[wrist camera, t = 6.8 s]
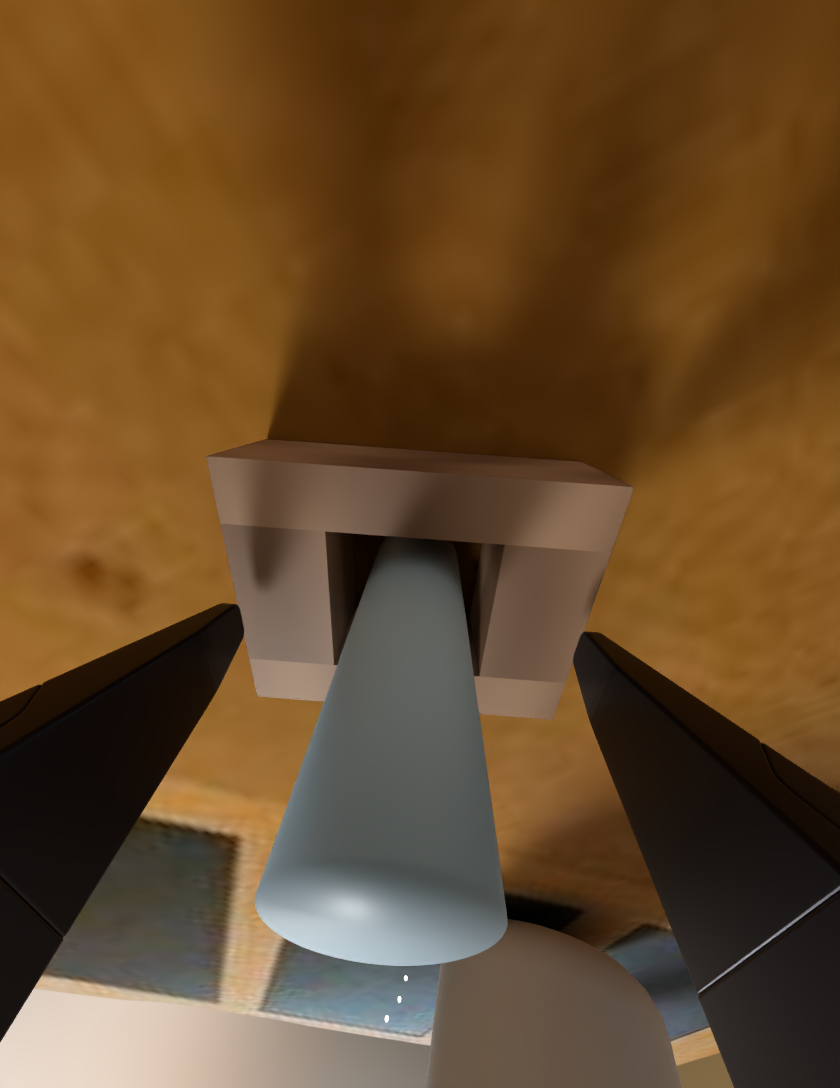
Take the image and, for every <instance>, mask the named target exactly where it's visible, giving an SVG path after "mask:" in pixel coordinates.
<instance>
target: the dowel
mask: <svg viewBox="0 0 840 1088" xmlns="http://www.w3.org/2000/svg"><path fill="white" fill-rule="evenodd" d="M255 907H256V910H257V912H258V914H259V916H260V918H261V919H262V920H263V922H264V923H265V924H266V925H267V926H268V927H270V928H271V929H272V930H273V931H275V932H276V933H277V934H279V935H280V936H282V937H284V938H285V939H287V940H289V941H291V942H293V943H295V944H297V945H299V946H302V947H304V948H307V949H309V950H312V951H315V952H318V953H321V954H324V955H328V956H332V957H336V958H340V959H345V960H349V961H355V962H361V963H369V964H378V965H393V966H416V965H431V964H439V963H446V962H451V961H456V960H460V959H464V958H467V957H470V956H473V955H476V954H478V953H481V952H483V951H485V950H487V949H488V948H490V947H491V946H493V945H494V944H496V943H497V942H498V941H499V940H500V939H501V938H502V936H503V935H504V933H505V932H506V928H507V925H508V922H507V912H506V904H505V897H504V890H503V883H502V875H501V868H500V861H499V854H498V846H497V839H496V832H495V825H494V817H493V810H492V803H491V796H490V789H489V781H488V774H487V767H486V760H485V752H484V745H483V738H482V731H481V723H480V716H479V709H478V702H477V695H476V687H475V680H474V673H473V666H472V658H471V651H470V644H469V637H468V629H467V622H466V615H465V608H464V601H463V593H462V586H461V579H460V572H459V564H458V557H457V553H456V550H455V547H454V546H453V544H452V542H451V541H447V540H434V539H420V538H407V537H394V536H387V537H386V538H385V539H384V540H383V541H382V543H381V545H380V547H379V549H378V552H377V555H376V558H375V561H374V563H373V566H372V569H371V572H370V575H369V577H368V580H367V583H366V586H365V589H364V591H363V594H362V597H361V600H360V603H359V606H358V608H357V611H356V614H355V617H354V620H353V622H352V625H351V628H350V631H349V634H348V636H347V639H346V642H345V645H344V648H343V650H342V653H341V656H340V659H339V662H338V665H337V667H336V670H335V673H334V676H333V679H332V681H331V684H330V687H329V690H328V693H327V695H326V698H325V701H324V704H323V707H322V710H321V712H320V715H319V718H318V721H317V724H316V726H315V729H314V732H313V735H312V738H311V740H310V743H309V746H308V749H307V752H306V754H305V757H304V760H303V763H302V766H301V769H300V771H299V774H298V777H297V780H296V783H295V785H294V788H293V791H292V794H291V797H290V799H289V802H288V805H287V808H286V811H285V814H284V816H283V819H282V822H281V825H280V828H279V830H278V833H277V836H276V839H275V842H274V844H273V847H272V850H271V853H270V856H269V859H268V861H267V864H266V867H265V870H264V873H263V875H262V878H261V881H260V884H259V887H258V889H257V892H256V895H255Z"/></svg>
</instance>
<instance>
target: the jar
mask: <svg viewBox="0 0 840 1088" xmlns="http://www.w3.org/2000/svg"><path fill="white" fill-rule="evenodd" d="M507 922H508V925H507V928H506V932H505V933H504V935H503V936H502V938H501V939H500V940H499V941H498V942H497V943H496V944H494V945H493V946H491V947H490V948H488V949H487V950H485V951H483V952H481V953H478V954H476V955H473V956H470V957H467V958H464V959H460V960H456V961H451V962H446V963H441V967H440V975H439V983H438V991H437V999H436V1007H435V1015H434V1023H433V1031H432V1040H431V1048H430V1056H429V1064H428V1072H427V1080H426V1088H681V1084H680V1080H679V1076H678V1072H677V1067H676V1063H675V1059H674V1055H673V1050H672V1046H671V1042H670V1039H669V1036H668V1032H667V1029H666V1026H665V1023H664V1019H663V1017H662V1015H661V1013H660V1012H659V1010H658V1009H657V1007H656V1005H655V1004H654V1002H653V1000H652V999H651V997H650V996H649V994H648V992H647V991H646V989H645V988H644V987H643V986H642V985H641V984H640V983H639V982H638V981H637V980H636V979H635V978H634V977H633V976H632V975H631V974H630V973H629V972H628V971H627V970H626V969H624V968H623V967H622V966H621V965H620V964H619V963H618V962H617V961H615V960H614V959H613V958H611V957H610V956H608V955H607V954H606V953H604V952H602V951H600V950H598V949H597V948H595V947H593V946H591V945H589V944H587V943H585V942H583V941H581V940H579V939H576V938H574V937H572V936H569V935H567V934H564V933H561V932H559V931H556V930H553V929H550V928H546V927H543V926H540V925H536V924H532V923H528V922H524V921H519V920H512V919H507ZM407 979H408V977H407V976H406V975H405V977H404V980H405V981H407ZM398 1002H399V1003H400V1002H401V997H400V996H399V997H398ZM388 1020H389V1017H388V1016H387V1015H386V1016H385V1022H388Z"/></svg>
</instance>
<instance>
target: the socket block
mask: <svg viewBox="0 0 840 1088" xmlns="http://www.w3.org/2000/svg"><path fill="white" fill-rule="evenodd" d="M206 458H207V463H208V467H209V472H210V477H211V482H212V486H213V491H214V496H215V500H216V505H217V510H218V514H219V519H220V524H221V528H222V533H223V538H224V542H225V547H226V552H227V557H228V561H229V566H230V571H231V575H232V580H233V585H234V589H235V594H236V599H237V603H238V606H239V607H240V610H241V615H242V620H243V625H244V636H245V641H246V646H247V650H248V655H249V660H250V664H251V669H252V674H253V678H254V683H255V688H256V693H257V696H261V697H273V698H286V699H298V700H311V701H325V698H326V695H327V693H328V690H329V687H330V684H331V681H332V679H333V676H334V673H335V670H336V667H337V665H338V662H339V659H340V656H341V653H342V650H343V648H344V645H345V642H346V639H347V636H348V634H349V631H350V628H351V625H352V622H353V620H354V617H355V614H356V611H357V608H355V590H354V553H353V534H367V535H380V536H394V537H407V538H420V539H434V540H447V541H461V542H474V543H482V545H481V551H480V557H479V564H478V570H477V576H476V582H475V589H474V595H473V601H472V607H471V614H470V617H466V622H467V629H468V637H469V644H470V651H471V658H472V666H473V673H474V680H475V687H476V695H477V702H478V709H479V714H487V715H500V716H512V717H525V718H538V719H550V720H553V717H554V714H555V711H556V708H557V706H558V703H559V700H560V697H561V694H562V691H563V688H564V686H565V683H566V680H567V677H568V674H569V671H570V669H571V666H572V663H573V656H574V652H575V649H576V647H577V644H578V641H579V638H580V635H581V634H582V633H583V632H584V629H585V626H586V623H587V620H588V617H589V615H590V612H591V609H592V606H593V603H594V600H595V597H596V595H597V592H598V589H599V586H600V583H601V580H602V578H603V575H604V572H605V569H606V566H607V563H608V561H609V558H610V555H611V552H612V549H613V546H614V543H615V541H616V538H617V535H618V532H619V529H620V526H621V524H622V521H623V518H624V515H625V512H626V509H627V506H628V504H629V501H630V498H631V495H632V492H633V489H634V487H633V486H631V485H629V484H627V483H624V482H622V481H620V480H618V479H616V478H614V477H612V476H610V475H608V474H606V473H604V472H602V471H600V470H597V469H595V468H593V467H591V466H589V465H587V464H585V463H583V462H578V461H564V460H550V459H536V458H522V457H508V456H494V455H480V454H466V453H452V452H438V451H424V450H410V449H396V448H382V447H368V446H354V445H340V444H326V443H312V442H299V441H285V440H271V439H265V440H261V441H258V442H254V443H251V444H247V445H244V446H240V447H237V448H233V449H230V450H226V451H223V452H219V453H216V454H212V455H209V456H206Z"/></svg>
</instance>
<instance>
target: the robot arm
mask: <svg viewBox="0 0 840 1088" xmlns="http://www.w3.org/2000/svg"><path fill="white" fill-rule="evenodd" d="M243 636H244V625H243V620H242V615H241V610H240V607H239V606H238V605H236V604H227V603H221V604H218V605H216V606H214V607H212V608H209V609H207V610H205V611H203V612H200V613H198V614H196V615H194V616H191V617H189V618H187V619H185V620H182V621H180V622H178V623H176V624H173V625H171V626H169V627H167V628H165V629H162V630H160V631H158V632H156V633H153V634H151V635H149V636H147V637H144V638H142V639H140V640H138V641H135V642H133V643H131V644H129V645H126V646H124V647H122V648H120V649H117V650H115V651H113V652H111V653H108V654H106V655H104V656H102V657H100V658H97V659H95V660H93V661H91V662H88V663H86V664H84V665H82V666H79V667H77V668H75V669H73V670H70V671H68V672H66V673H64V674H61V675H59V676H57V677H55V678H52V679H50V680H48V681H46V682H44V683H43V684H42V685H36V686H34V687H32V688H30V689H28V690H25V691H23V692H21V693H19V694H16V695H14V696H12V697H10V698H7V699H5V700H3V701H0V1042H1V1040H2V1039H3V1037H4V1036H5V1034H6V1032H7V1031H8V1029H9V1027H10V1026H11V1024H12V1023H13V1021H14V1019H15V1018H16V1016H17V1015H18V1013H19V1011H20V1010H21V1008H22V1006H23V1005H24V1003H25V1002H26V1000H27V998H28V997H29V995H30V993H31V992H32V990H33V989H34V987H35V985H36V984H37V982H38V981H39V979H40V977H41V976H42V974H43V973H44V971H45V969H46V968H47V966H48V964H49V963H50V961H51V960H52V958H53V956H54V955H55V953H56V951H57V950H58V948H59V947H60V945H61V943H62V942H63V937H64V936H66V934H67V933H68V931H69V930H70V928H71V927H72V925H73V923H74V922H75V920H76V919H77V917H78V915H79V914H80V912H81V910H82V909H83V907H84V906H85V904H86V902H87V901H88V899H89V897H90V896H91V894H92V893H93V891H94V889H95V888H96V886H97V885H98V883H99V881H100V880H101V878H102V876H103V875H104V873H105V872H106V870H107V868H108V867H109V865H110V864H111V862H112V860H113V859H114V857H115V855H116V854H117V852H118V851H119V849H120V847H121V846H122V844H123V843H124V841H125V839H126V838H127V836H128V834H129V833H130V831H131V830H132V828H133V826H134V825H135V823H136V821H137V820H138V818H139V817H140V815H141V813H142V812H143V810H144V809H145V807H146V805H147V804H148V802H149V800H150V799H151V797H152V796H153V794H154V792H155V791H156V789H157V788H158V786H159V784H160V783H161V781H162V779H163V778H164V776H165V775H166V773H167V771H168V770H169V768H170V766H171V765H172V763H173V762H174V760H175V758H176V757H177V755H178V754H179V752H180V750H181V749H182V747H183V745H184V744H185V742H186V741H187V739H188V737H189V736H190V734H191V733H192V731H193V729H194V728H195V726H196V724H197V723H198V721H199V720H200V718H201V716H202V715H203V713H204V712H205V710H206V708H207V707H208V705H209V703H210V702H211V700H212V698H213V697H214V695H215V693H216V692H217V690H218V688H219V686H220V684H221V682H222V680H223V678H224V676H225V674H226V672H227V670H228V668H229V666H230V664H231V662H232V660H233V658H234V656H235V653H236V651H237V649H238V647H239V645H240V643H241V641H242V639H243ZM573 664H574V668H575V671H576V675H577V678H578V682H579V685H580V689H581V693H582V696H583V700H584V703H585V707H586V710H587V714H588V717H589V720H590V723H591V726H592V728H593V731H594V734H595V736H596V739H597V741H598V744H599V746H600V749H601V751H602V754H603V756H604V759H605V762H606V764H607V767H608V769H609V772H610V774H611V777H612V779H613V782H614V784H615V787H616V789H617V792H618V794H619V797H620V799H621V802H622V804H623V807H624V810H625V812H626V815H627V817H628V820H629V822H630V825H631V827H632V830H633V832H634V835H635V837H636V840H637V842H638V845H639V847H640V850H641V853H642V855H643V858H644V860H645V863H646V865H647V868H648V870H649V873H650V875H651V878H652V880H653V883H654V885H655V888H656V890H657V893H658V895H659V898H660V901H661V903H662V906H663V908H664V911H665V913H666V916H667V918H668V921H669V923H670V926H671V928H672V931H673V933H674V936H675V938H676V941H677V943H678V946H679V949H680V951H681V954H682V956H683V959H684V961H685V964H686V966H687V969H688V971H689V974H690V976H691V979H692V981H693V984H694V986H695V989H696V991H697V992H698V993H699V996H698V997H699V1000H700V1003H701V1005H702V1008H703V1010H704V1013H705V1015H706V1018H707V1020H708V1023H709V1025H710V1028H711V1030H712V1033H713V1035H714V1038H715V1040H716V1043H717V1045H718V1048H719V1051H720V1053H721V1055H722V1058H723V1061H724V1063H725V1066H726V1068H727V1071H728V1073H729V1076H730V1078H731V1081H732V1083H733V1086H734V1088H840V793H839V792H837V791H835V790H834V789H832V788H831V787H829V786H828V785H826V784H824V783H823V782H821V781H820V780H818V779H817V778H815V777H814V776H812V775H811V774H809V773H808V772H806V771H805V770H803V769H802V768H800V767H799V766H797V765H796V764H794V763H793V762H791V761H790V760H788V759H787V758H785V757H784V756H782V755H781V754H779V753H778V752H776V751H775V750H773V749H772V748H770V747H769V746H767V745H766V744H764V743H760V741H759V740H758V739H757V738H755V737H754V736H752V735H751V734H749V733H748V732H746V731H745V730H744V729H742V728H741V727H739V726H738V725H736V724H735V723H733V722H732V721H730V720H729V719H727V718H726V717H724V716H723V715H721V714H720V713H718V712H717V711H715V710H714V709H712V708H711V707H709V706H708V705H706V704H705V703H703V702H702V701H700V700H699V699H698V698H696V697H695V696H693V695H692V694H690V693H689V692H687V691H686V690H684V689H683V688H681V687H680V686H678V685H677V684H675V683H674V682H672V681H671V680H669V679H668V678H666V677H665V676H663V675H662V674H660V673H659V672H657V671H656V670H654V669H653V668H652V667H650V666H649V665H647V664H646V663H644V662H643V661H641V660H640V659H638V658H637V657H635V656H634V655H632V654H631V653H629V652H628V651H626V650H625V649H623V648H622V647H620V646H619V645H617V644H616V643H614V642H613V641H611V640H610V639H609V638H607V637H606V636H604V635H603V634H601V633H598V632H583V633H582V634H581V635H580V638H579V641H578V644H577V647H576V649H575V652H574V656H573Z"/></svg>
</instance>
